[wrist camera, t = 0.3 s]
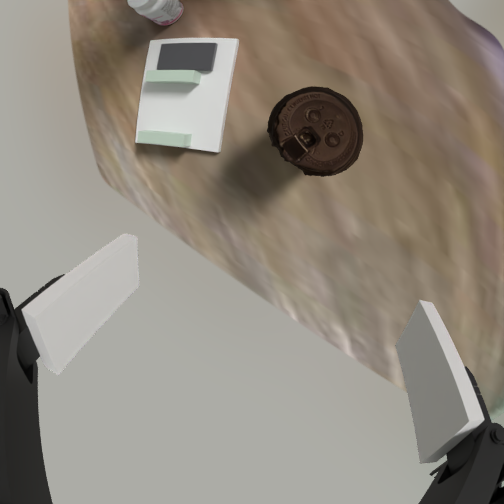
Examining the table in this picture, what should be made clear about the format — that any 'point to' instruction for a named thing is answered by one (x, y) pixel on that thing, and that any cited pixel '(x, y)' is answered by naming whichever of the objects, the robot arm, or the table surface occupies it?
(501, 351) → the table surface
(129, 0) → the pill bottle
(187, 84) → the dock
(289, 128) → the coffee cup
